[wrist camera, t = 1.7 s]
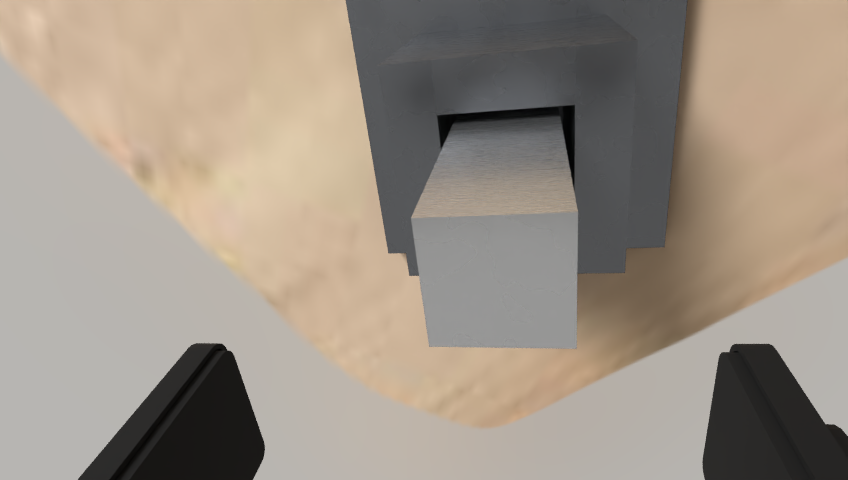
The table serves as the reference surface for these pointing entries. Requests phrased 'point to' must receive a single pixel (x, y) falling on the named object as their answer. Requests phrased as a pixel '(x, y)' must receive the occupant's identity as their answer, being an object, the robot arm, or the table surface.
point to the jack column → (500, 234)
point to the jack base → (528, 101)
